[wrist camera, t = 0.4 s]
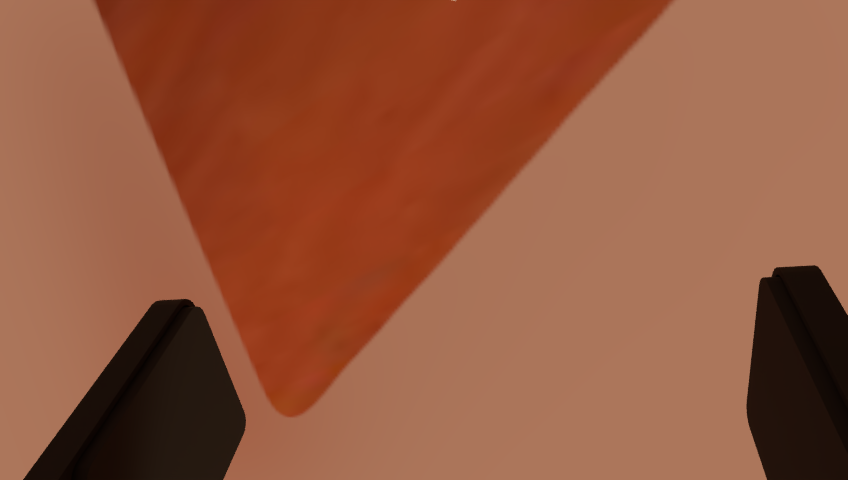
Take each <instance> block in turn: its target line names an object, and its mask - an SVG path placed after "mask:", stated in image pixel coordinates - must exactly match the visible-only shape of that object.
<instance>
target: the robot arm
mask: <svg viewBox="0 0 848 480" xmlns="http://www.w3.org/2000/svg"><path fill="white" fill-rule="evenodd" d="M747 418H748V423H749V427H750V430H751V433H752V436H753V439H754V442H755V444H756V447H757V450H758V454H759V457H760V459H761V462H762V465H763V469H764V471H765V475H766V477H767V480H848V315H847V314H846V312H845V310H844V309H843V307H842V305H841V303H840V302H839V300H838V298H837V297H836V295H835V293H834V292H833V290H832V288H831V287H830V286H829V283H828V282H827V280H826V278H825V276H824V275H823V273H822V272H821V270H820V269H819V267H817V266H815V265H814V266H795V267H777V268H775V269H774V271H773V274H772V277H767V278H766V277H765V278H762V279H761V280H760V284H759V292H758V301H757V311H756V320H755V330H754V339H753V349H752V358H751V367H750V376H749V387H748V396H747ZM245 425H246V419H245V413H244V410H243V408H242V405H241V403H240V400H239V398H238V395H237V393H236V390H235V388H234V385H233V383H232V380H231V378H230V376H229V373H228V371H227V368H226V366H225V363H224V361H223V358H222V356H221V353H220V351H219V348H218V346H217V343H216V341H215V338H214V336H213V333H212V331H211V328H210V326H209V324H208V321H207V319H206V316H205V314H204V312H203V310H202V309H201V308H200V307H195V305H194V304H193V302H191V301H190V300H188V299H180V300H162V301H156V302H155V303H154V304H152V305H151V307H150V308H149V309H148V311H147V312H146V313H145V315H144V316H143V318H142V319H141V320H140V322H139V323H138V324H137V326H136V327H135V329H134V330H133V331H132V332H131V334H130V335H129V337H128V338H127V339H126V341H125V342H124V343H123V345H122V346H121V347H120V349H119V350H118V352H117V353H116V354H115V356H114V357H113V358H112V360H111V361H110V362H109V364H108V365H107V367H106V368H105V369H104V371H103V372H102V373H101V375H100V376H99V377H98V379H97V380H96V381H95V383H94V384H93V386H92V387H91V388H90V390H89V391H88V392H87V394H86V395H85V396H84V398H83V399H82V401H81V402H80V403H79V404H78V406H77V407H76V409H75V410H74V411H73V413H72V414H71V415H70V417H69V418H68V419H67V421H66V422H65V423H64V425H63V426H62V428H61V429H60V430H59V432H58V433H57V434H56V436H55V437H54V439H53V440H52V441H51V442H50V444H49V445H48V447H47V448H46V449H45V451H44V452H43V453H42V455H41V456H40V458H39V459H38V460H37V462H36V463H35V464H34V466H33V467H32V468H31V470H30V471H29V472H28V474H27V475H26V476H25V478H24V479H23V480H223V479H224V476H225V474H226V472H227V470H228V467H229V465H230V463H231V460H232V459H233V456H234V454H235V452H236V450H237V447H238V445H239V443H240V441H241V438H242V436H243V434H244V431H245Z"/></svg>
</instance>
